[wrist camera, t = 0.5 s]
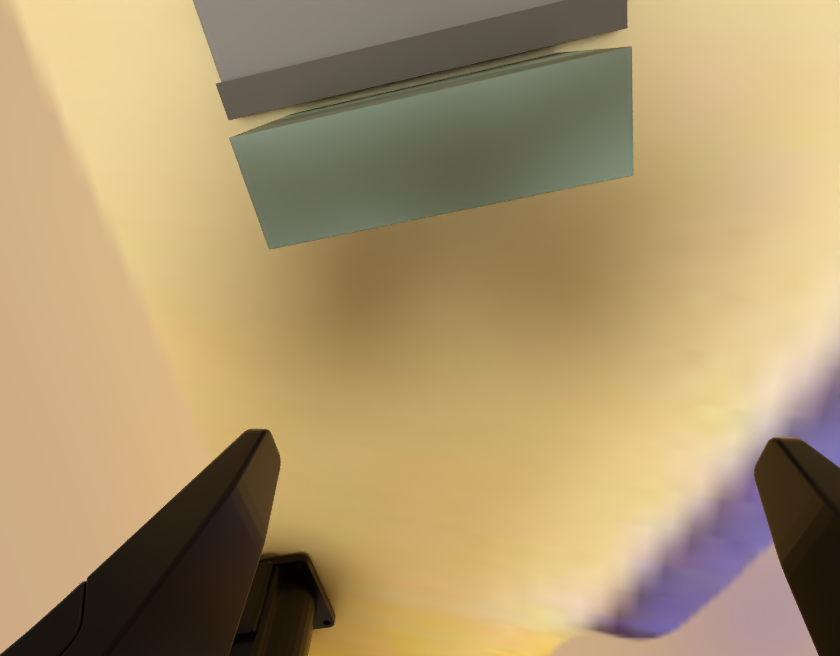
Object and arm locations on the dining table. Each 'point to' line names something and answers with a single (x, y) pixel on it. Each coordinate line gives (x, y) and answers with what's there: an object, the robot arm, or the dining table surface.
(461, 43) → the slate board
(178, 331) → the dining table surface
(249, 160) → the grey-green rectangular block
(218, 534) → the robot arm
